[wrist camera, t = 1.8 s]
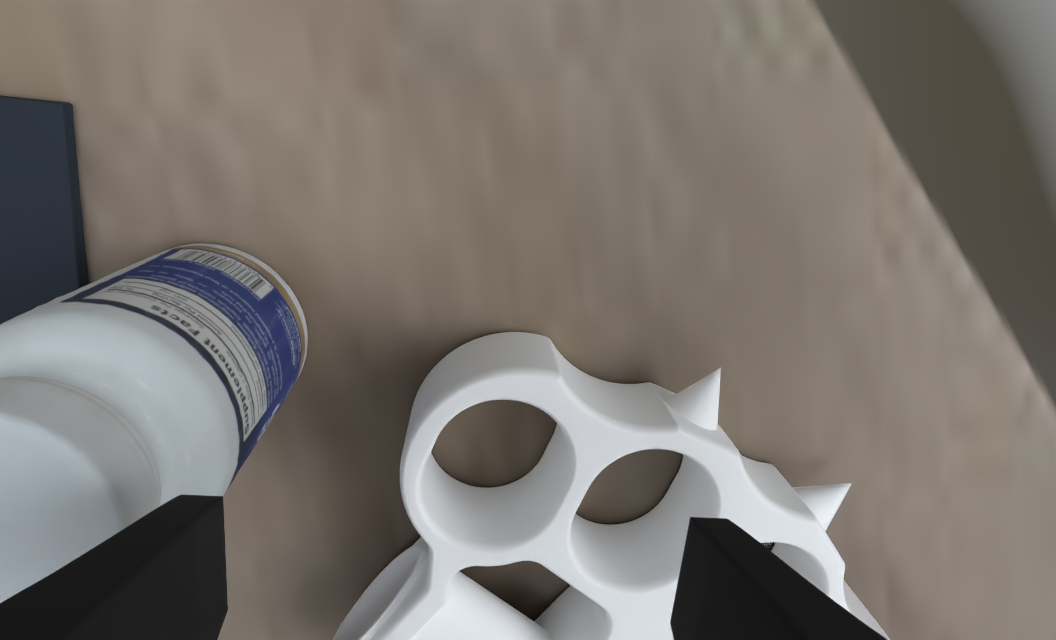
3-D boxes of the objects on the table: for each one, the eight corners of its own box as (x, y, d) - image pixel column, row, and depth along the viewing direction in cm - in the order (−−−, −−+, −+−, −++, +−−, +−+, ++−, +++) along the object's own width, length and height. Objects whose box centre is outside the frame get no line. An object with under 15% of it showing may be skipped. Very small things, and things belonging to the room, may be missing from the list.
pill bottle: (180, 439, 21) (-62, 709, 11) (84, 280, 19) (-291, 444, 10) (343, 377, 20) (232, 602, 11) (260, 211, 19) (48, 312, 10)
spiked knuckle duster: (260, 560, 22) (559, 222, 19) (648, 801, 27) (934, 552, 24) (224, 637, 19) (575, 244, 16) (672, 896, 23) (1005, 621, 21)
